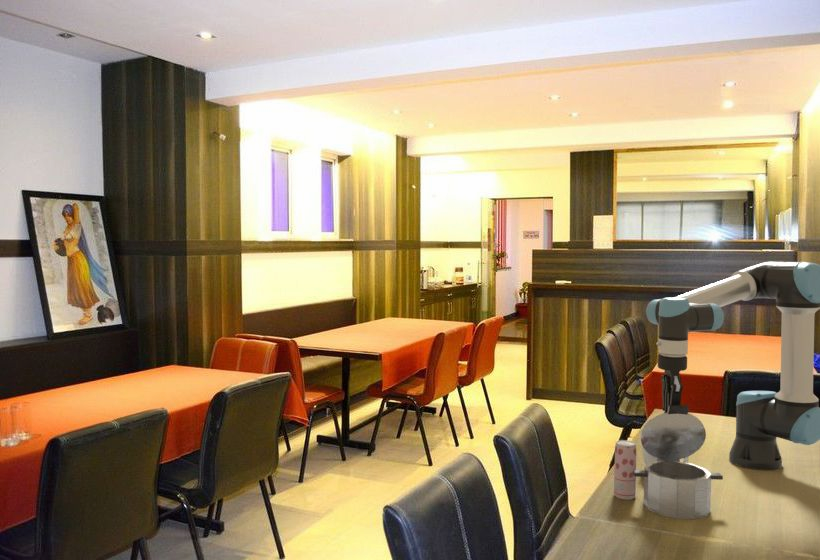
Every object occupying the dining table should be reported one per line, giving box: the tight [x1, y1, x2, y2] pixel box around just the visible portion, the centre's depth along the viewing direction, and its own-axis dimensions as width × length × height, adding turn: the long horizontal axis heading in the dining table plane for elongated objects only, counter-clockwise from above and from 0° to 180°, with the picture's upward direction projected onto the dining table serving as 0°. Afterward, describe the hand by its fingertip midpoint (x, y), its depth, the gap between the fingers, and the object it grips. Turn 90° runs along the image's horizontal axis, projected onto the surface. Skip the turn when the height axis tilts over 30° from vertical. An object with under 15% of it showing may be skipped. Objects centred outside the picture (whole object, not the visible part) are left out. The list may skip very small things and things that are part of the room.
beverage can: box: [613, 439, 637, 501], centre depth 193 cm, size 6×6×15 cm
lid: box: [640, 404, 707, 462], centre depth 189 cm, size 17×20×3 cm
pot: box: [633, 461, 724, 520], centre depth 185 cm, size 22×16×10 cm
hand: (670, 439), depth 191 cm, fingers closed
